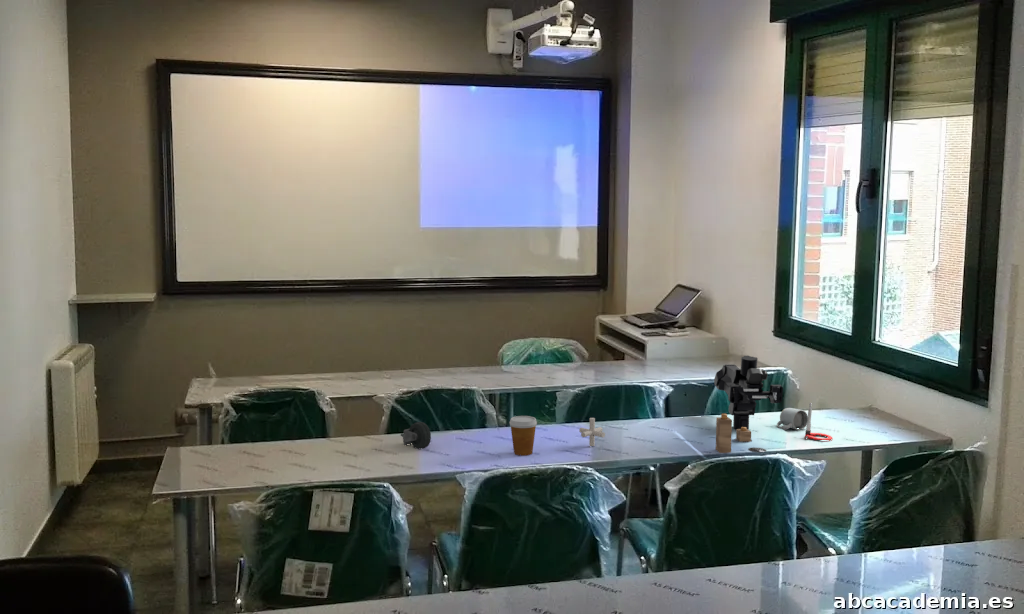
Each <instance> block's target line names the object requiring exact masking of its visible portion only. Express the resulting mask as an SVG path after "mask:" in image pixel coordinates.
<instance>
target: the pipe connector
mask: <svg viewBox="0 0 1024 614" xmlns="http://www.w3.org/2000/svg"><path fill="white" fill-rule="evenodd" d="M595 426H596V418H595V417H590V418H589V428H585V427H579V433H581V434H580V436H581V437H582V438H587V437H589V439H588V440H589V445H590V446H596V445H595V444H596V442H595V440H596V439H595V438H596V437H600V438H605V436H606V433H605V432H604V431H603V430H604V429H603V427H601V426H599V427H595ZM590 446H589V447H590Z"/></svg>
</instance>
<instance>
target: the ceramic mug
mask: <svg viewBox="0 0 1024 614" xmlns="http://www.w3.org/2000/svg"><path fill="white" fill-rule="evenodd" d="M807 420H808V412H806V411H805V410H803V409H798V408H794V407H786V408H783V410H782V411H781V412H780V415H779V420H778V421H777V423H776V427H777V428H778V429H781V430H783V431H785V430H786V431H787V430H789V429H790V428H791V429H793V430H797V431H801V430H800V429H802V430H804V429H806V426H807ZM797 428H799V429H797Z"/></svg>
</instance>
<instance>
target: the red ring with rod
mask: <svg viewBox="0 0 1024 614" xmlns="http://www.w3.org/2000/svg"><path fill="white" fill-rule="evenodd" d="M812 404H813V403H812V402H809V407H808V411H807V415H808V420H807V425H806V427H805V434H804V439H805V438H807V439H806V440H808V438H809V439H810V440H812V439H814V440H813V441H816V440H831V439H832V440H833V436H832V435H829V434H826V433H821V432H812V431H811V429H812V422H811V421H812V413H813V409H812V406H813V405H812ZM816 435H819V436H816ZM820 435H821V436H820ZM822 436H826V437H828V438H826V437H823V438H821V437H822ZM832 440H831V441H832Z"/></svg>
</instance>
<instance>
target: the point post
mask: <svg viewBox="0 0 1024 614" xmlns="http://www.w3.org/2000/svg"><path fill="white" fill-rule="evenodd" d="M715 423H716V425H715V426H716V427H715V429H716V430H715V433H716V434H715V451H717V452H718V453H719V454H725V453H730V454H731V453H732V434H733V433H732V428H733V424H732V423H733V419H731V418H730V417H729V416H728V414H727V413H721V415H720V417H719V416H718V417H716V422H715Z"/></svg>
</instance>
